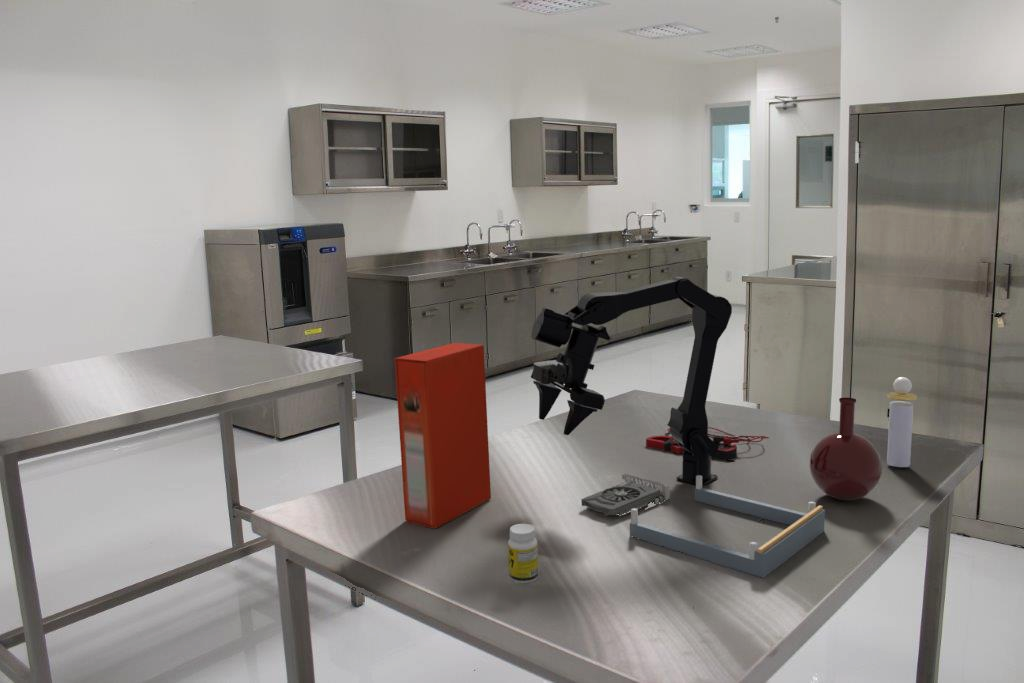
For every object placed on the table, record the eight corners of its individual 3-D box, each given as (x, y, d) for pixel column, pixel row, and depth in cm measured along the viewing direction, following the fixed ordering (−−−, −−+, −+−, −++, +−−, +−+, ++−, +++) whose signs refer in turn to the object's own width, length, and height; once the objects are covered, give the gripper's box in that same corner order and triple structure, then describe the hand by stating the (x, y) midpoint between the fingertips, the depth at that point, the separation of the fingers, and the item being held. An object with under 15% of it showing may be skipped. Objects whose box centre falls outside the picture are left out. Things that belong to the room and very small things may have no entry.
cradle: (697, 498, 163) (698, 474, 162) (824, 531, 145) (825, 504, 144) (629, 536, 146) (629, 509, 145) (763, 578, 129) (764, 548, 128)
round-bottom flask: (847, 516, 152) (852, 411, 148) (793, 494, 163) (796, 397, 160) (895, 502, 158) (900, 401, 154) (840, 482, 169) (843, 388, 166)
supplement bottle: (508, 571, 134) (506, 523, 132) (536, 569, 134) (535, 521, 133) (510, 585, 129) (508, 535, 128) (540, 583, 129) (538, 533, 128)
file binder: (404, 520, 157) (394, 357, 151) (459, 492, 170) (452, 342, 165) (436, 529, 152) (427, 361, 146) (491, 499, 166) (484, 345, 160)
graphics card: (625, 471, 171) (671, 483, 162) (626, 488, 172) (671, 501, 163) (568, 492, 161) (613, 507, 152) (569, 510, 161) (614, 526, 152)
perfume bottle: (917, 471, 174) (922, 380, 170) (889, 471, 174) (893, 380, 171) (907, 462, 179) (911, 374, 176) (879, 462, 180) (884, 374, 177)
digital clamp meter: (741, 448, 181) (640, 432, 196) (741, 467, 182) (640, 450, 196) (775, 422, 200) (680, 409, 214) (775, 440, 200) (680, 426, 215)
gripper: (523, 333, 167) (498, 405, 168) (574, 358, 151) (546, 436, 153) (564, 345, 173) (540, 414, 174) (618, 370, 158) (591, 445, 159)
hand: (553, 426), depth 165 cm, fingers open, 9 cm apart
